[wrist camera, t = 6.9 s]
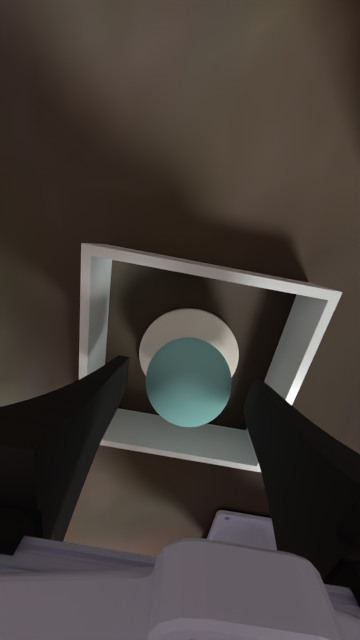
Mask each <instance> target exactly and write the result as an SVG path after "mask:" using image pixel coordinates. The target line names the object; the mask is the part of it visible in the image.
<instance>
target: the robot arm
mask: <svg viewBox="0 0 360 640" xmlns="http://www.w3.org/2000/svg"><path fill="white" fill-rule="evenodd" d="M128 366H129V357H124V356H117V357H116V358H114V359H113V360H111V361H110V362H108V363H107V364H105V365H104V366H102V367H100V368H99V369H97V370H96V371H94V372H92V373H90V374H89V375H87V376H85V377H83V378H81V379H79V380H78V381H75V382H73V383H71V384H69V385H67V386H65V387H62V388H60V389H57V390H55V391H52V392H49V393H47V394H44V395H41V396H38V397H35V398H32V399H29V400H25V401H22V402H18V403H15V404H11V405H7V406H3V407H0V640H360V454H359V453H357V452H355V451H354V450H352V449H350V448H349V447H347V446H346V445H344V444H342V443H341V442H339V441H338V440H336V439H335V438H333V437H332V436H330V435H329V434H328V433H326V432H325V431H323V430H322V429H321V428H319V427H318V426H316V425H315V424H314V423H312V422H311V421H310V420H309V419H307V418H306V417H305V416H304V415H302V414H301V413H300V412H299V411H298V410H296V409H295V408H294V407H293V406H292V405H290V404H289V403H288V402H287V401H286V400H285V399H284V398H282V397H281V396H280V395H279V394H278V393H277V392H276V391H275V390H273V389H272V388H271V387H270V386H269V385H267V384H266V383H265V382H263V381H258V380H253V381H252V384H251V387H250V390H249V392H248V395H247V398H246V401H245V404H244V407H243V410H244V416H245V421H246V426H247V429H248V432H249V435H250V439H251V442H252V445H253V448H254V451H255V454H256V457H257V460H258V463H259V466H260V470H261V473H262V477H263V481H264V486H265V490H266V494H267V499H268V504H269V509H270V514H271V518H267V517H261V516H255V515H249V514H243V513H237V512H231V511H225V510H219V511H217V513H216V515H215V518H214V520H213V523H212V526H211V528H210V531H209V534H208V536H207V539H203V538H183V539H180V540H177V541H175V542H172V543H169V544H168V545H167V546H166V547H165V548H164V549H163V550H162V551H161V553H160V554H159V555H158V557H154V556H147V555H141V554H135V553H129V552H122V551H116V550H110V549H104V548H97V547H91V546H85V545H79V544H72V543H66V542H63V540H64V537H65V534H66V531H67V528H68V526H69V523H70V520H71V517H72V514H73V512H74V509H75V506H76V504H77V501H78V498H79V496H80V493H81V490H82V487H83V485H84V482H85V480H86V477H87V474H88V472H89V469H90V467H91V464H92V462H93V459H94V457H95V454H96V452H97V449H98V447H99V445H100V442H101V440H102V438H103V436H104V434H105V432H106V430H107V428H108V426H109V424H110V423H111V421H112V419H113V417H114V415H115V413H116V411H117V409H118V407H119V405H120V403H121V400H122V397H123V395H124V392H125V389H126V384H127V375H128Z"/></svg>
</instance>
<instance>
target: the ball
mask: <svg viewBox="0 0 360 640" xmlns="http://www.w3.org/2000/svg"><path fill="white" fill-rule="evenodd" d="M231 387H232V378H231V372H230V369H229V366H228V363H227V361H226V360H225V358H224V356H223V355H222V354H221V352H220V351H219V350H218V349H217V348H215V347H214V346H213V345H211V344H210V343H208V342H206V341H204V340H201V339H197V338H179V339H176V340H173V341H171V342H169V343H167V344H165V345H164V346H162V347H161V348H160V349H159V350H158V351H157V352H156V353H155V355H154V356H153V358H152V359H151V361H150V363H149V366H148V369H147V373H146V391H147V395H148V398H149V400H150V403H151V404H152V406H153V408H154V409H155V410H156V412H157V413H158V414H159V415H160V416H161V417H162V418H164V419H165V420H167V421H168V422H170V423H172V424H174V425H177V426H182V427H197V426H201V425H204V424H206V423H208V422H210V421H212V420H213V419H214V418H216V417H217V416H218V415H219V414H220V413H221V412H222V411H223V409H224V408H225V406H226V404H227V402H228V400H229V397H230V394H231Z"/></svg>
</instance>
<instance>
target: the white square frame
mask: <svg viewBox="0 0 360 640" xmlns="http://www.w3.org/2000/svg"><path fill="white" fill-rule="evenodd" d="M112 260H117V261H122V262H127V263H133V264H138V265H143V266H149V267H154V268H159V269H165V270H170V271H175V272H181V273H186V274H191V275H197V276H202V277H207V278H213V279H218V280H223V281H229V282H234V283H239V284H245V285H250V286H255V287H260V288H266V289H271V290H276V291H282V292H287V293H292V294H297V295H296V298H295V300H294V303H293V306H292V308H291V311H290V314H289V316H288V319H287V322H286V324H285V327H284V330H283V332H282V335H281V338H280V340H279V343H278V346H277V348H276V351H275V354H274V356H273V359H272V362H271V364H270V367H269V370H268V372H267V375H266V378H265V380H264V382H265V383H266V384H267V385H269V386H270V387H271V388H272V389H273V390H275V391H276V392H277V393H278V394H279V395H280V396H281V397H282V398H284V399H285V400H286V401H287V402H288V403H289V404H290V405H292V404H293V402H294V399H295V397H296V395H297V393H298V390H299V388H300V386H301V384H302V381H303V379H304V377H305V375H306V373H307V370H308V368H309V366H310V364H311V361H312V359H313V357H314V355H315V352H316V350H317V348H318V346H319V343H320V341H321V339H322V337H323V335H324V332H325V330H326V328H327V326H328V323H329V321H330V319H331V317H332V314H333V312H334V310H335V308H336V306H337V303H338V301H339V299H340V297H341V294H342V292H339V291H336V290H332V289H329V288H326V287H322V286H319V285H315V284H312V283H308V282H303V281H298V280H292V279H287V278H282V277H277V276H271V275H266V274H261V273H256V272H250V271H245V270H240V269H234V268H229V267H224V266H219V265H213V264H208V263H203V262H197V261H192V260H187V259H182V258H176V257H171V256H166V255H160V254H155V253H150V252H145V251H139V250H134V249H129V248H124V247H118V246H113V245H108V244H92V243H81V285H80V338H79V379H81V378H83V377H85V376H87V375H89V374H90V373H92V372H94V371H96V370H97V369H99V368H100V367H102V366H104V365H105V357H106V343H107V328H108V313H109V298H110V283H111V268H112ZM100 445H103V446H109V447H115V448H121V449H127V450H133V451H139V452H144V453H150V454H156V455H162V456H168V457H174V458H180V459H186V460H192V461H197V462H203V463H209V464H215V465H221V466H227V467H233V468H239V469H244V470H250V471H256V472H261V470H260V466H259V463H258V460H257V457H256V454H255V451H254V448H253V445H252V442H251V439H250V435H249V432H248V429H246V430H241V429H235V428H229V427H223V426H218V425H212V424H204V425H201V426H197V427H182V426H177V425H174V424H172V423H170V422H168V421H167V420H165V419H164V418H162V417H161V416H160V415H154V414H149V413H143V412H137V411H131V410H126V409H120V408H118V409H117V411H116V413H115V415H114V417H113V419H112V421H111V423H110V424H109V426H108V428H107V430H106V432H105V434H104V436H103V438H102V440H101V442H100Z"/></svg>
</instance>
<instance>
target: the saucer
mask: <svg viewBox="0 0 360 640" xmlns="http://www.w3.org/2000/svg"><path fill="white" fill-rule="evenodd" d="M179 338H197V339H201V340H204V341H206V342H208V343H210V344H211V345H213V346H214V347H215V348H217V349H218V350H219V351H220V352H221V354H222V355H223V356H224V358H225V360H226V361H227V363H228V366H229V369H230V372H231V378H232V376H233V374H234V373H235V370H236V368H237V364H238V358H239V351H238V345H237V342H236V339H235V337H234V335H233V333H232V331H231V330H230V328H229V327H228V326H227V324H226V323H225V322H224V321H223V320H221V319H220V318H219V317H217V316H216V315H214V314H212V313H210V312H207V311H204V310H201V309H195V308H182V309H176V310H173V311H170V312H167V313H165V314H163V315H162V316H160V317H158V318H157V319H156V320H155V321H154V322H153V323H152V324H151V325H150V326H149V327H148V329H147V330H146V332H145V334H144V336H143V338H142V341H141V343H140V348H139V360H140V364H141V368H142V370H143V372H144V374H145V376H146V373H147V369H148V366H149V363H150V361H151V359H152V358H153V356H154V355H155V353H156V352H157V351H158V350H159V349H160V348H161V347H162V346H164V345H165V344H167V343H169V342H171V341H173V340H176V339H179Z"/></svg>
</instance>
